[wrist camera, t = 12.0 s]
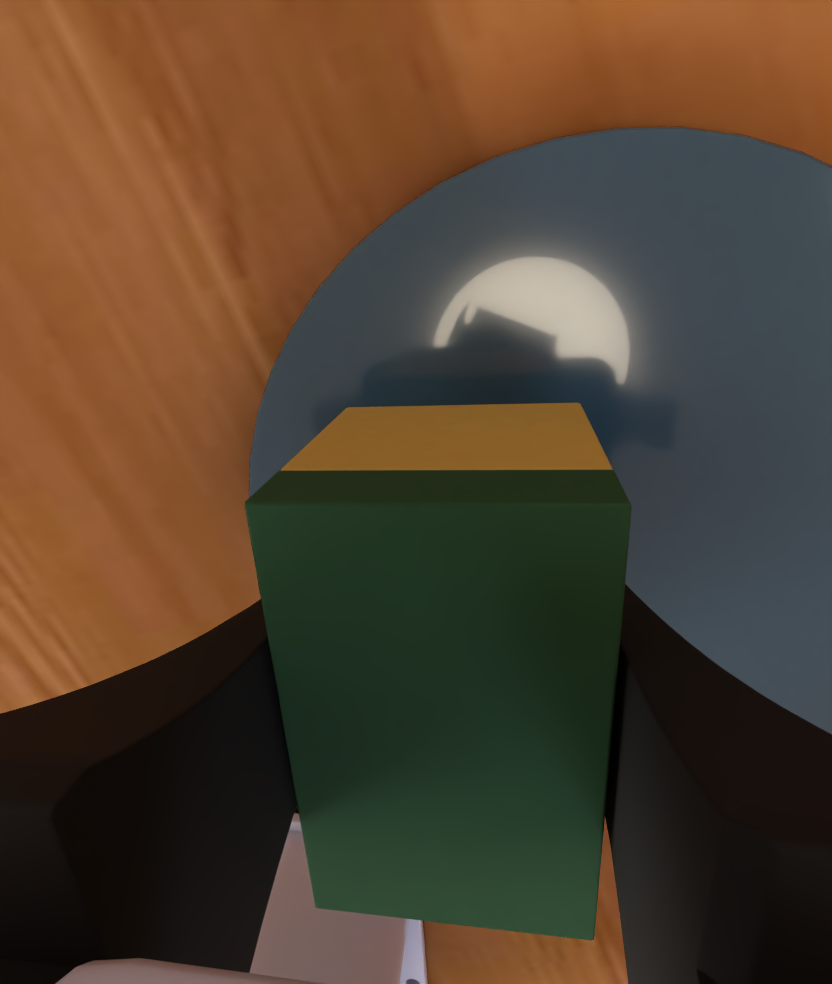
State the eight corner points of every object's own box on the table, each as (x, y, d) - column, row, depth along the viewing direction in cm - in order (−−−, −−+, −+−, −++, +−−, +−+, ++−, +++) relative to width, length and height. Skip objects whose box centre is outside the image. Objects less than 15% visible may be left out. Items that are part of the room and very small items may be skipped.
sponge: (565, 714, 14) (594, 942, 9) (375, 703, 15) (314, 909, 10) (581, 401, 11) (633, 503, 6) (346, 406, 12) (242, 501, 7)
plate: (878, 796, 17) (904, 834, 16) (307, 753, 19) (295, 783, 18) (1101, 94, 10) (1170, 76, 9) (212, 174, 13) (185, 166, 12)
